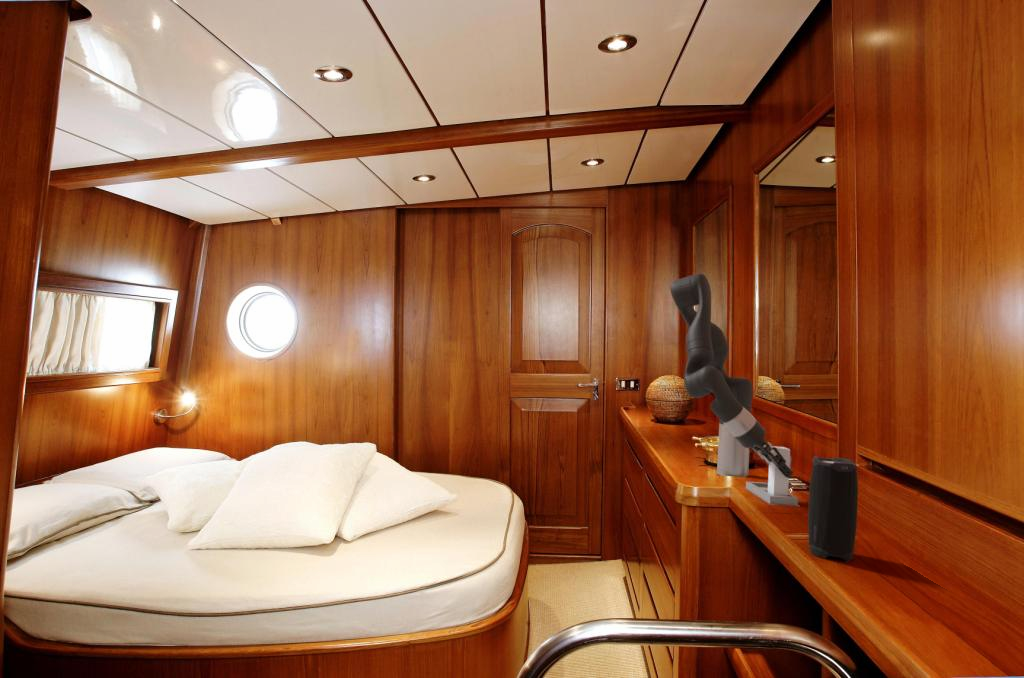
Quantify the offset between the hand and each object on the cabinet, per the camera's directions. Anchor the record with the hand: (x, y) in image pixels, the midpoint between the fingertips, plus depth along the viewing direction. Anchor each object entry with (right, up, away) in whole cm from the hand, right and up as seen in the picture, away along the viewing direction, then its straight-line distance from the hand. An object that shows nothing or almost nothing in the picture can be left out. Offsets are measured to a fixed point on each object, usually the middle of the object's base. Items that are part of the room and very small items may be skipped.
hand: (785, 473), depth 151 cm
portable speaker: (-10, -8, -38) cm, 40 cm away
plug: (-2, -6, 0) cm, 6 cm away
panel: (-2, -9, +4) cm, 10 cm away
